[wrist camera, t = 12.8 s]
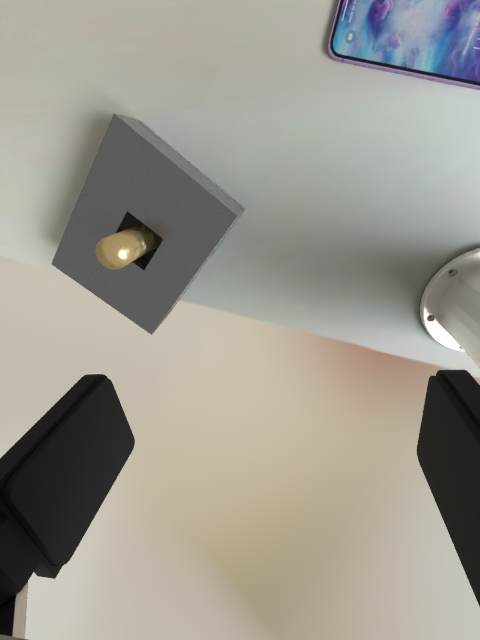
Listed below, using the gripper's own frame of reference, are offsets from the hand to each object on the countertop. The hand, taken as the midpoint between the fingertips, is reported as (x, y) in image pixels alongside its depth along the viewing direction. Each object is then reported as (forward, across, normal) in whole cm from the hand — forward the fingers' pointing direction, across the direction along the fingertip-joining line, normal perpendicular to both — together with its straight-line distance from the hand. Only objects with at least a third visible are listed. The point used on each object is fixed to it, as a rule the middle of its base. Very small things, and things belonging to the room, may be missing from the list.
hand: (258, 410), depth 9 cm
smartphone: (+29, -13, -16) cm, 35 cm away
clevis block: (+28, +16, -1) cm, 32 cm away
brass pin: (+28, +16, -1) cm, 32 cm away
